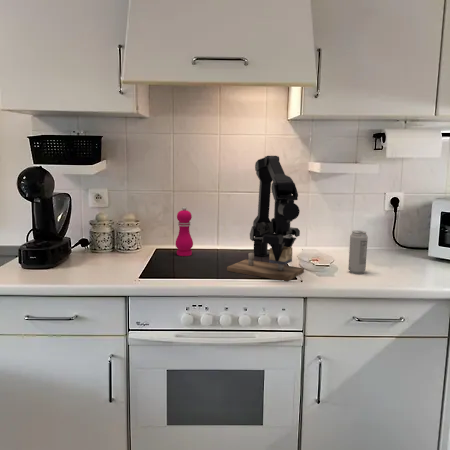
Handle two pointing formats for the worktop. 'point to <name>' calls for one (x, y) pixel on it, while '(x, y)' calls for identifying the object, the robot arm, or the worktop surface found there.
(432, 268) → the worktop surface
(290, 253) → the sleeve
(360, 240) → the energy drink can
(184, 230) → the pepper mill
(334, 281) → the worktop surface
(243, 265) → the pin board
